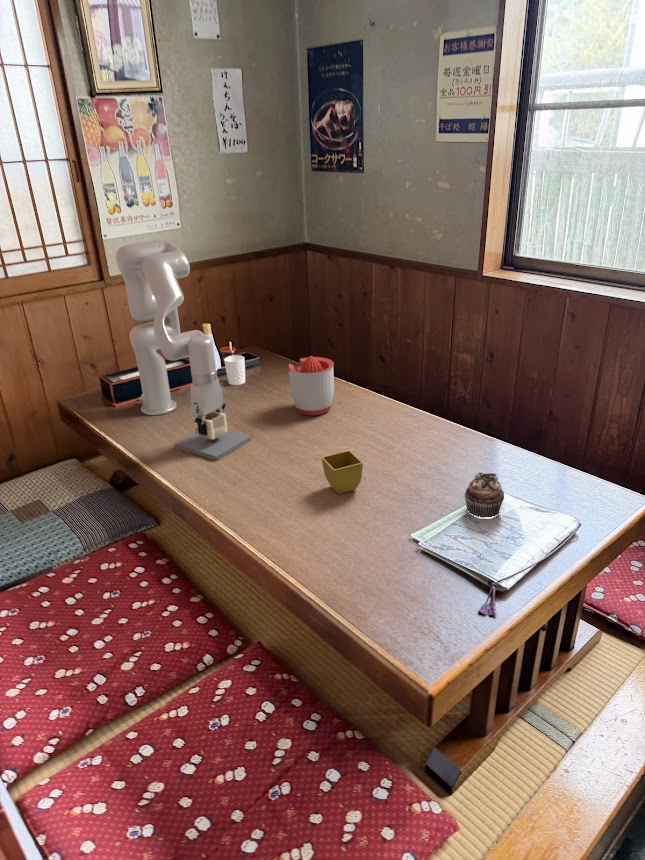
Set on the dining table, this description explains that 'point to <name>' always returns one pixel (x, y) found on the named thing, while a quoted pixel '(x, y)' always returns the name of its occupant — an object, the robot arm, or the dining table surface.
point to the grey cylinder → (211, 439)
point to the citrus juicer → (312, 385)
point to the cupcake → (484, 495)
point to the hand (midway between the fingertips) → (211, 429)
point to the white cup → (235, 369)
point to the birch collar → (214, 425)
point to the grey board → (213, 444)
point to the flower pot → (343, 471)
